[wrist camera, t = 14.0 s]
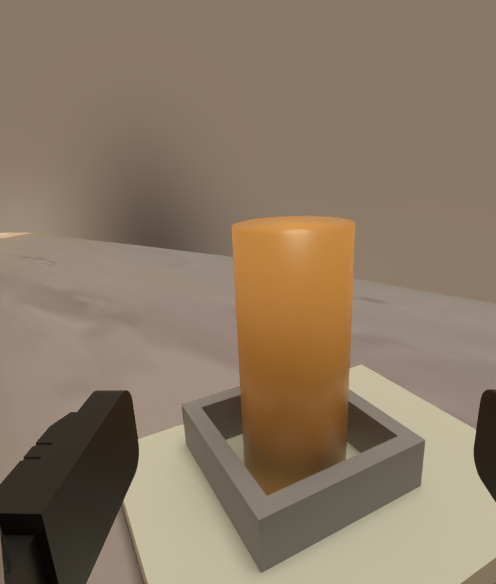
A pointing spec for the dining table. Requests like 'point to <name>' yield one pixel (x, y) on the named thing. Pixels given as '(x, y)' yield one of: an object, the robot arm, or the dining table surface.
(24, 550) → the robot arm
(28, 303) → the dining table surface
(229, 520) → the cream slab
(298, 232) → the orange cylinder
